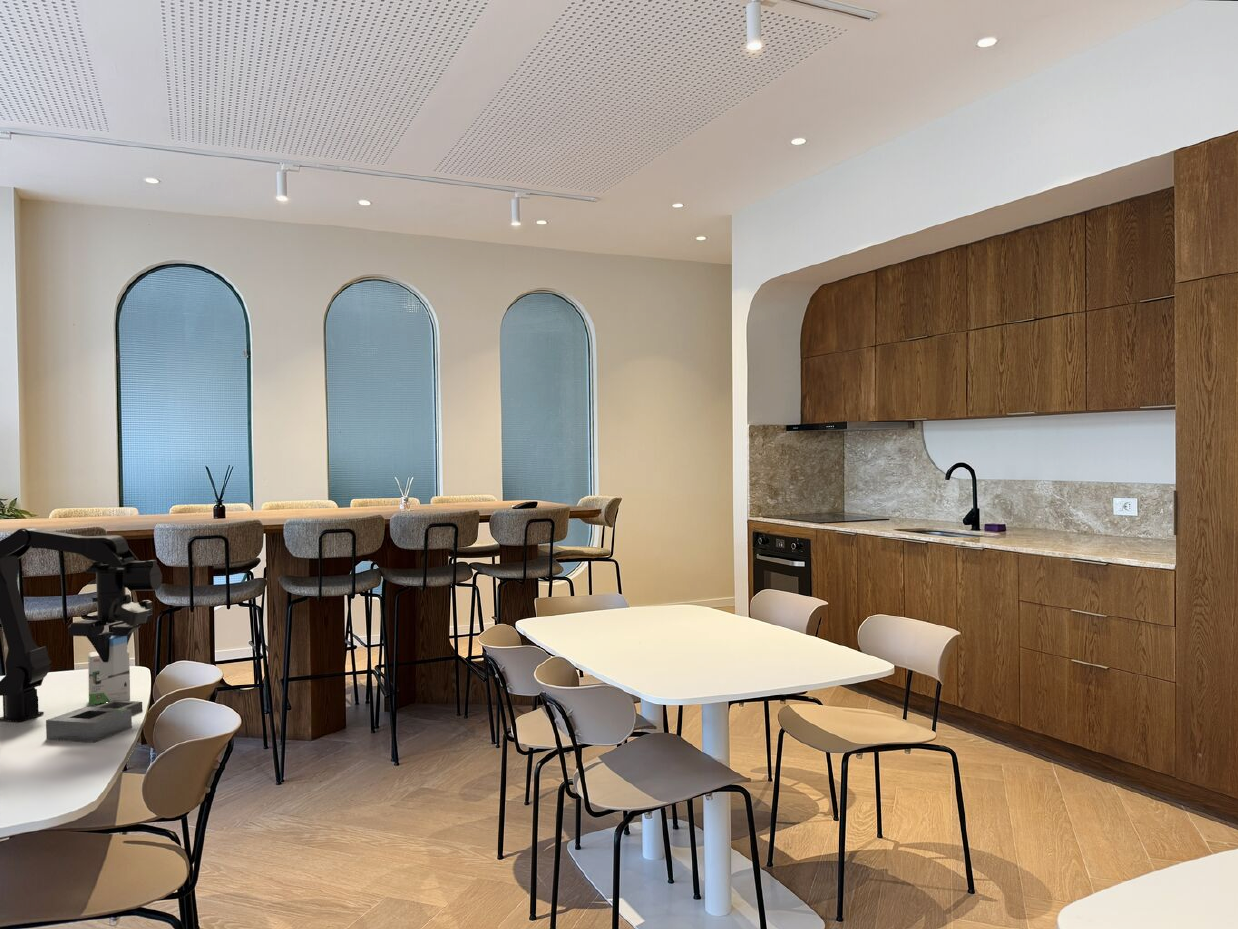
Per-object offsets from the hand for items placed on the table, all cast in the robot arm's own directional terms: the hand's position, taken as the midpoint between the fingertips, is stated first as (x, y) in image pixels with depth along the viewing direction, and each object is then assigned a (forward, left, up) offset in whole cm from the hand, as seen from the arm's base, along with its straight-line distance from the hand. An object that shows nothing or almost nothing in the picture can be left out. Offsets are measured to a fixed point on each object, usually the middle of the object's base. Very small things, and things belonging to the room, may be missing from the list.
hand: (113, 660), depth 203 cm
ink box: (-11, +10, -13) cm, 20 cm away
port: (+6, -13, -12) cm, 19 cm away
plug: (0, 0, -3) cm, 3 cm away
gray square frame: (0, 0, -12) cm, 13 cm away
